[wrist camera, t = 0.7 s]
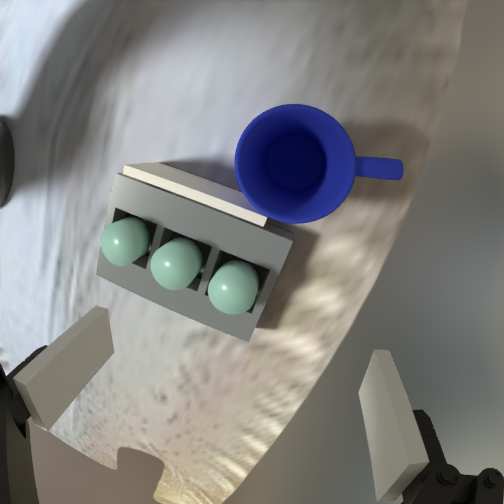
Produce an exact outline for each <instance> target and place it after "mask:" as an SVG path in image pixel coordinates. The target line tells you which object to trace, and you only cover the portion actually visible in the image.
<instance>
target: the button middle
mask: <svg viewBox="0 0 504 504" xmlns="http://www.w3.org/2000/svg"><path fill="white" fill-rule="evenodd" d="M202 265H203V256H202V253H201V250H200V249H199V247H198V246H197V245H196V244H195V243H194V242H193V241H191V240H189V239H186V238H175V239H172V240H170V241H169V242H168V243H166V244H165V245H163V246H162V247H161V248H159V249H158V250H157V251H156V252H155V253H154V254H153V256H152V259H151V271H152V274H153V276H154V278H155V280H156V281H157V282H158V283H159V284H160V285H161V286H163V287H165V288H167V289H169V290H181V289H184V288H186V287H187V286H188V285H189V284H190V283H191V282H192V280H193V279H194V278H195V277H196V275H197V274H198V273H199V272H200V270H201V268H202Z"/></svg>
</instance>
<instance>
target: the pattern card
mask: <svg viewBox="0 0 504 504" xmlns="http://www.w3.org/2000/svg"><path fill="white" fill-rule="evenodd" d="M122 174H125V175H128V176H130V177H133V178H136V179H139V180H141V181H144V182H147V183H150V184H152V185H155V186H158V187H161V188H163V189H166V190H169V191H171V192H174V193H177V194H179V195H182V196H185V197H187V198H190V199H193V200H195V201H198V202H201V203H203V204H206V205H209V206H211V207H214V208H216V209H219V210H222V211H224V212H227V213H229V214H232V215H235V216H237V217H240V218H242V219H245V220H247V221H250V222H252V223H255V224H258V225H260V226H263V227H264V224H265V222H266V220H267V217H268V216H266V215H264V214H263V213H261V212H260V211H258V210H257V209H256V208H255V207H254V206H253V205H252V204H251V203H250V202H249V201H248V200H247V198H246V197H245V195H244V194H243V193H242V192H239V191H237V190H234V189H231V188H229V187H226V186H223V185H221V184H218V183H215V182H212V181H210V180H207V179H204V178H201V177H199V176H196V175H193V174H190V173H187V172H185V171H182V170H179V169H176V168H173V167H170V166H167V165H164V164H161V163H158V162H154V163H141V164H129V165H125V166H124V170H123V173H122Z"/></svg>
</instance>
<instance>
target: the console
mask: <svg viewBox="0 0 504 504" xmlns="http://www.w3.org/2000/svg"><path fill="white" fill-rule="evenodd" d="M127 212H128V213H131V214H133V215H136V216H138V217H140V218H143V219H145V220H148V221H150V222H153V223H155V224H157V227H156V231H155V235H154V239H153V243H152V247H151V251H150V255H149V257H148V256H146V255H142V256H141V257H139V258H138V259H137V260H135V261H134V262H132V263H131V264H129V265H127V266H117V265H114V264H113V263H111V262H110V261H109V260H108V259H107V258H106V257H105V255H104V253H103V251H102V248H100V254H99V260H98V267H97V275H99V276H101V277H103V278H104V279H106V280H108V281H110V282H112V283H114V284H117V285H119V286H121V287H123V288H125V289H127V290H129V291H131V292H133V293H135V294H137V295H139V296H141V297H144V298H146V299H148V300H150V301H152V302H154V303H157V304H159V305H161V306H163V307H165V308H168V309H170V310H172V311H174V312H177V313H179V314H181V315H184V316H186V317H188V318H191V319H193V320H195V321H198V322H200V323H202V324H205V325H207V326H210V327H212V328H215V329H217V330H220V331H222V332H225V333H227V334H230V335H232V336H235V337H237V338H240V339H242V340H245V341H248V342H249V340H250V338H251V336H252V333H253V331H254V329H255V327H256V325H257V322H258V320H259V318H260V316H261V314H262V311H263V309H264V307H265V305H266V302H267V300H268V298H269V296H270V293H271V291H272V289H273V287H274V284H275V282H276V280H277V278H278V275H279V273H280V271H281V268H282V266H283V264H284V262H285V259H286V257H287V255H288V252H289V250H290V248H291V245H292V243H293V233H290V232H288V231H285V230H283V229H280V228H278V227H275V226H273V225H270V224H268V223H265V224H264V227H263V226H260V225H258V224H255V223H252V222H250V221H247V220H245V219H242V218H240V217H237V216H235V215H232V214H229V213H227V212H224V211H222V210H219V209H216V208H214V207H211V206H209V205H206V204H203V203H201V202H198V201H195V200H193V199H190V198H187V197H185V196H182V195H179V194H177V193H174V192H171V191H169V190H166V189H163V188H161V187H158V186H155V185H152V184H150V183H147V182H144V181H141V180H139V179H136V178H133V177H130V176H128V175H125V174H122V173H118V174H116V176H115V180H114V184H113V188H112V193H111V197H110V201H109V206H108V211H107V215H106V220H105V225H104V229H105V228H106V227H107V226H108V225H110V224H112V223H114V222H117V221H119V220H122V219H124V218H126V214H127ZM172 231H175V232H177V233H180V234H182V235H185V236H187V237H190V238H192V239H195V240H197V241H200V242H202V243H205V244H207V245H210V246H212V249H211V252H210V255H209V258H208V260H207V263H206V266H205V269H204V272H203V276H202V279H200V278H197V277H195V278H194V279H193V280H192V282H191V283H190V284H189V285H188V286H187V287H186V288H184V289H181V290H169V289H167V288H165V287H163V286H161V285H160V284H159V283H158V282H157V281H156V280H155V278H154V276H153V274H152V271H151V259H152V256H153V254H154V253H155V252H156V251H157V250H158V249H159V248H161V247H162V246H163V245H165V244H166V243H168V242H169V241H170V237H171V234H172ZM223 251H225V252H227V253H230V254H232V255H235V256H237V257H240V258H242V259H245V260H247V261H250V262H252V263H255V264H257V265H260V266H262V267H265V268H267V269H269V270H268V272H267V275H266V277H265V279H264V282H263V284H262V286H261V289H260V291H259V294H258V296H257V298H256V301H254V303H253V305H252V306H251V308H250V309H249V310H247V311H246V312H244V313H241V314H237V315H231V314H226V313H223V312H221V311H220V310H218V309H217V308H216V307H215V306H214V305H213V304H212V302H211V301H210V299H209V295H208V286H209V283H210V281H211V280H212V278H213V277H214V275H215V272H216V269H217V267H218V264H219V261H220V258H221V255H222V252H223Z"/></svg>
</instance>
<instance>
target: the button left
mask: <svg viewBox="0 0 504 504" xmlns="http://www.w3.org/2000/svg"><path fill="white" fill-rule="evenodd" d="M150 242H151V238H150V233H149V230H148V228H147V226H146V225H145V224H144V223H143V222H142V221H141V220H140V219H138V218H135V217H127V218H124V219H122V220H119V221H117V222H114V223H112V224H110V225H108V226H107V227H106V228H105V229H104V230H103V232H102V235H101V248H102V251H103V253H104V255H105V257H106V258H107V259H108V260H109V261H110V262H111V263H113V264H114V265H117V266H127V265H129V264H131V263H132V262H134V261H135V260H137V259H138V258H139V257H141V256H142V255H144V254H145V253H146V252H147V251H148V249H149V246H150Z"/></svg>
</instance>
